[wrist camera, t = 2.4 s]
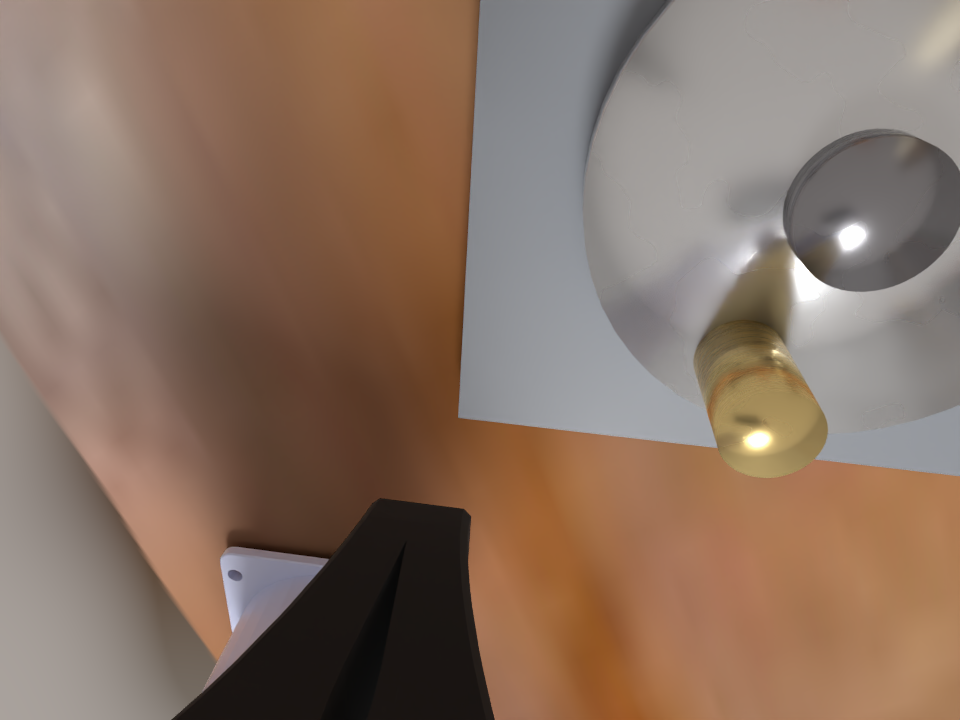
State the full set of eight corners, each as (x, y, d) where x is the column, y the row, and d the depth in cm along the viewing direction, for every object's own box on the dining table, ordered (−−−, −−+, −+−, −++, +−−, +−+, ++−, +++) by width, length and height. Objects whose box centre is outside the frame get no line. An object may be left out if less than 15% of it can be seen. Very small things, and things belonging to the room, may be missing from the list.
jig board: (1049, 460, 19) (1185, 600, 15) (464, 394, 20) (435, 505, 16) (1427, -191, 12) (1888, -280, 8) (500, -234, 13) (465, -331, 9)
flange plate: (1089, 444, 17) (1222, 566, 13) (556, 384, 18) (552, 484, 14) (1415, -96, 11) (1782, -126, 8) (625, -140, 12) (645, -184, 9)
